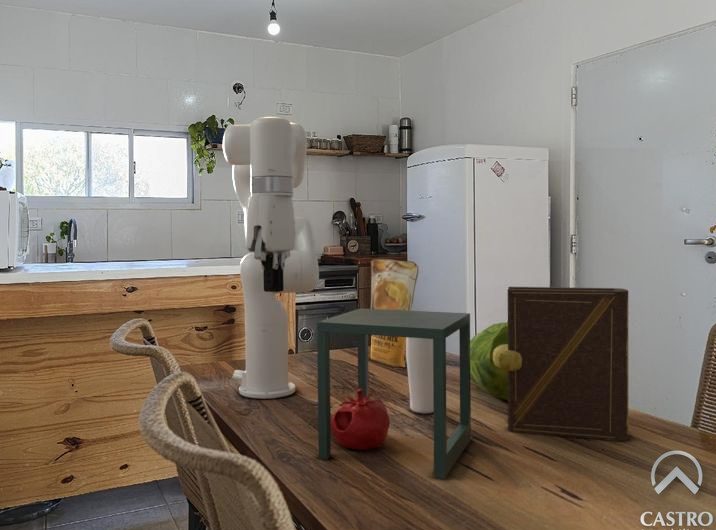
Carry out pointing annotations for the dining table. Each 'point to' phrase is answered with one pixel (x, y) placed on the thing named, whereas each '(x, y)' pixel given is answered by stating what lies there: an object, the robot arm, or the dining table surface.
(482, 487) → the dining table surface
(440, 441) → the bench
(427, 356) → the white paper cup
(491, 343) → the lettuce
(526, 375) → the book
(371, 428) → the pomegranate
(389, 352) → the pancake mix bag
